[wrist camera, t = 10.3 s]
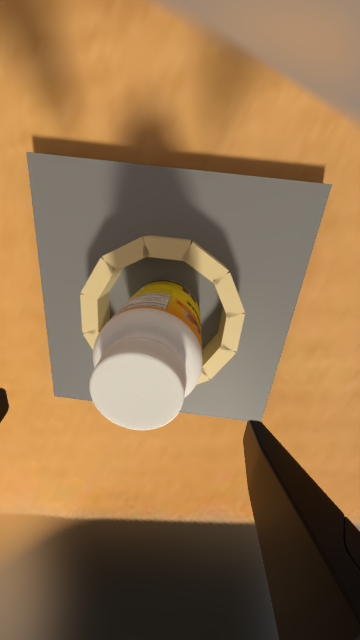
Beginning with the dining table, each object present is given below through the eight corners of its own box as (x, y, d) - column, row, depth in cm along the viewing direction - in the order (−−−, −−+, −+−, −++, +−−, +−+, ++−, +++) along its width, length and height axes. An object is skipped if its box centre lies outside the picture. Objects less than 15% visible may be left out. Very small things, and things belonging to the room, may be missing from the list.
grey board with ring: (322, 187, 16) (356, 176, 13) (257, 413, 24) (267, 445, 20) (37, 156, 17) (-4, 139, 13) (61, 388, 24) (38, 415, 21)
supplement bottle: (201, 342, 20) (204, 448, 10) (135, 343, 20) (82, 444, 11) (200, 275, 18) (204, 331, 8) (127, 278, 18) (53, 333, 9)
